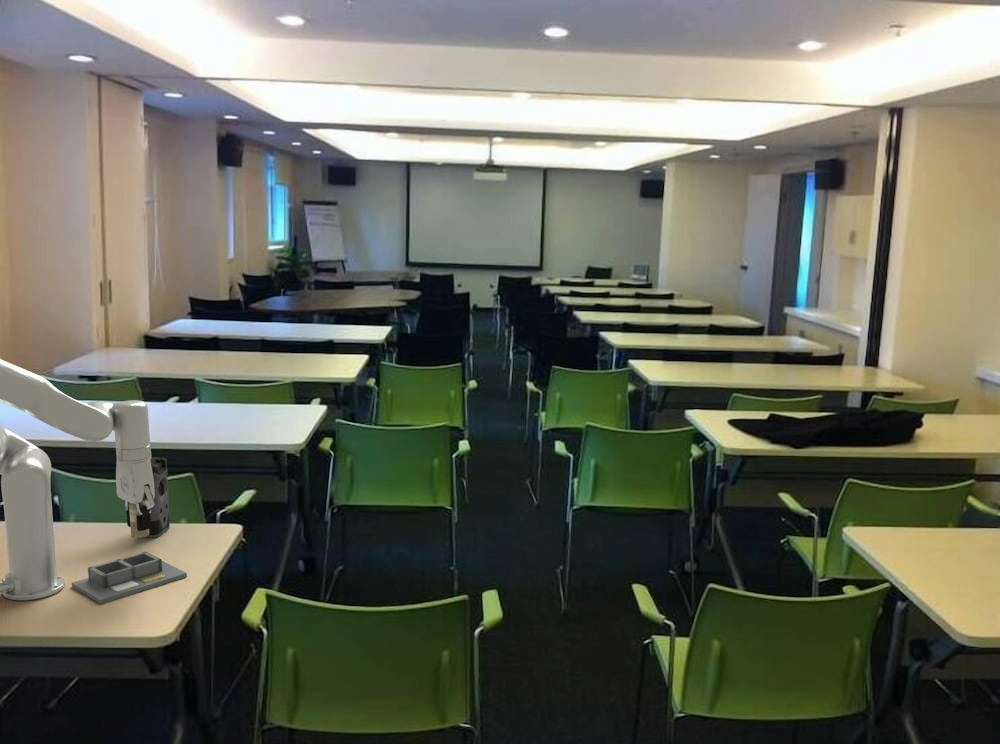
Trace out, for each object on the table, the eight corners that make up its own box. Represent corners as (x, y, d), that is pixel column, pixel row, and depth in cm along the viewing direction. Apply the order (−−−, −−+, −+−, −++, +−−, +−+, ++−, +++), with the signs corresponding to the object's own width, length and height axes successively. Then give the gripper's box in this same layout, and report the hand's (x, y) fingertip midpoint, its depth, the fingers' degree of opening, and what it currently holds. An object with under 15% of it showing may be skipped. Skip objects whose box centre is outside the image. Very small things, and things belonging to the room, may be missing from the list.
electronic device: (158, 538, 237) (154, 466, 233) (136, 537, 237) (132, 465, 233) (171, 526, 246) (168, 457, 243) (150, 526, 246) (147, 456, 243)
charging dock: (100, 604, 196) (99, 587, 195) (71, 586, 204) (70, 570, 204) (186, 576, 211) (186, 561, 211) (156, 561, 220) (156, 546, 220)
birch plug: (136, 539, 208) (134, 506, 206) (128, 535, 210) (125, 503, 209) (152, 534, 211) (150, 502, 209) (144, 530, 213) (141, 499, 212)
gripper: (101, 450, 209) (107, 523, 212) (136, 462, 199) (142, 540, 202) (131, 444, 215) (136, 516, 218) (167, 456, 204) (172, 531, 207)
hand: (139, 526), depth 210 cm, fingers closed on birch plug, 4 cm apart
